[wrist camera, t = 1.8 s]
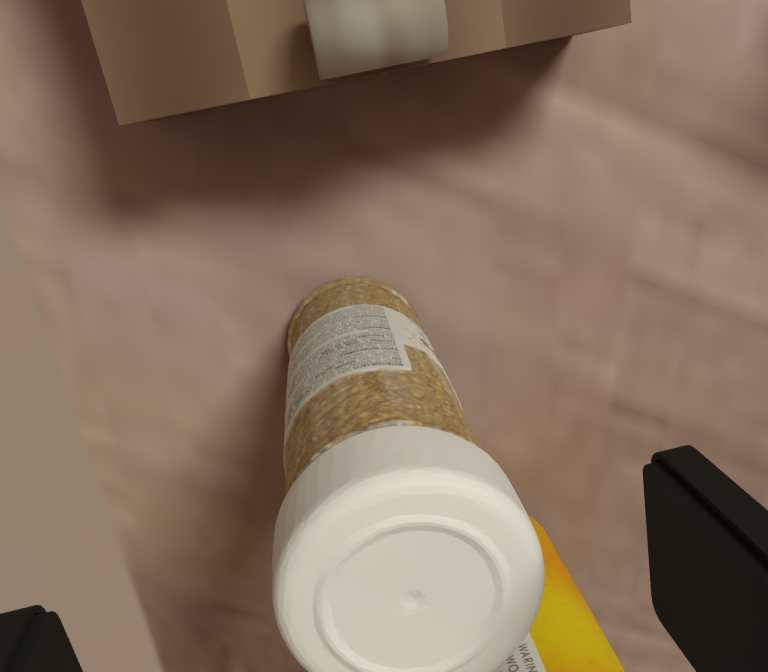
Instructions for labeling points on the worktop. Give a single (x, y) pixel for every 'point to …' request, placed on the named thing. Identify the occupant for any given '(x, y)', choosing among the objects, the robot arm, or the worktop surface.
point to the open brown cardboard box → (304, 43)
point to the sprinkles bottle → (391, 502)
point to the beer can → (561, 626)
